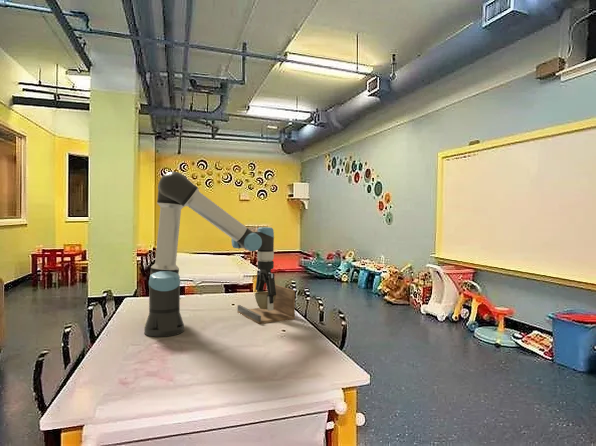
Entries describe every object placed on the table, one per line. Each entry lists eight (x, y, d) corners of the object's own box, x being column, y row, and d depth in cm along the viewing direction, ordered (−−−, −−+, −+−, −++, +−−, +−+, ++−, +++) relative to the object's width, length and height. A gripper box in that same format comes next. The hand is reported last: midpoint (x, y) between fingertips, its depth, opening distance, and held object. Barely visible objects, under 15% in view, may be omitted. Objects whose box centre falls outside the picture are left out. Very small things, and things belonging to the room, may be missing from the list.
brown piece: (258, 324, 179) (258, 294, 178) (237, 312, 199) (237, 285, 199) (294, 319, 188) (294, 290, 188) (270, 308, 209) (271, 282, 208)
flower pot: (275, 310, 188) (275, 295, 188) (253, 310, 189) (253, 295, 189) (276, 306, 198) (276, 291, 198) (256, 305, 199) (256, 291, 199)
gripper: (284, 262, 185) (283, 312, 186) (262, 257, 205) (262, 302, 205) (269, 263, 182) (268, 313, 182) (248, 258, 201) (248, 304, 201)
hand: (265, 307), depth 194 cm, fingers closed on flower pot, 10 cm apart
